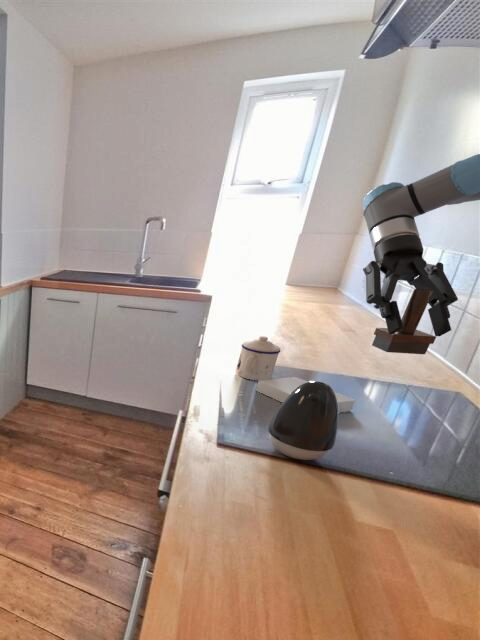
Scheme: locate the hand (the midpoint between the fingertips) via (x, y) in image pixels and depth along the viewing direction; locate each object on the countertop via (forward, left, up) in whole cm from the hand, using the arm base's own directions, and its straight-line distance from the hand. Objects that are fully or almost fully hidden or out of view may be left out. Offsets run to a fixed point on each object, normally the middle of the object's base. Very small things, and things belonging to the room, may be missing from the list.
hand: (419, 331), depth 86 cm
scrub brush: (+3, -1, -5) cm, 6 cm away
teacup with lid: (+28, +7, -21) cm, 36 cm away
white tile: (+12, +8, -21) cm, 25 cm away
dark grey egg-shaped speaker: (-7, +32, -21) cm, 39 cm away
